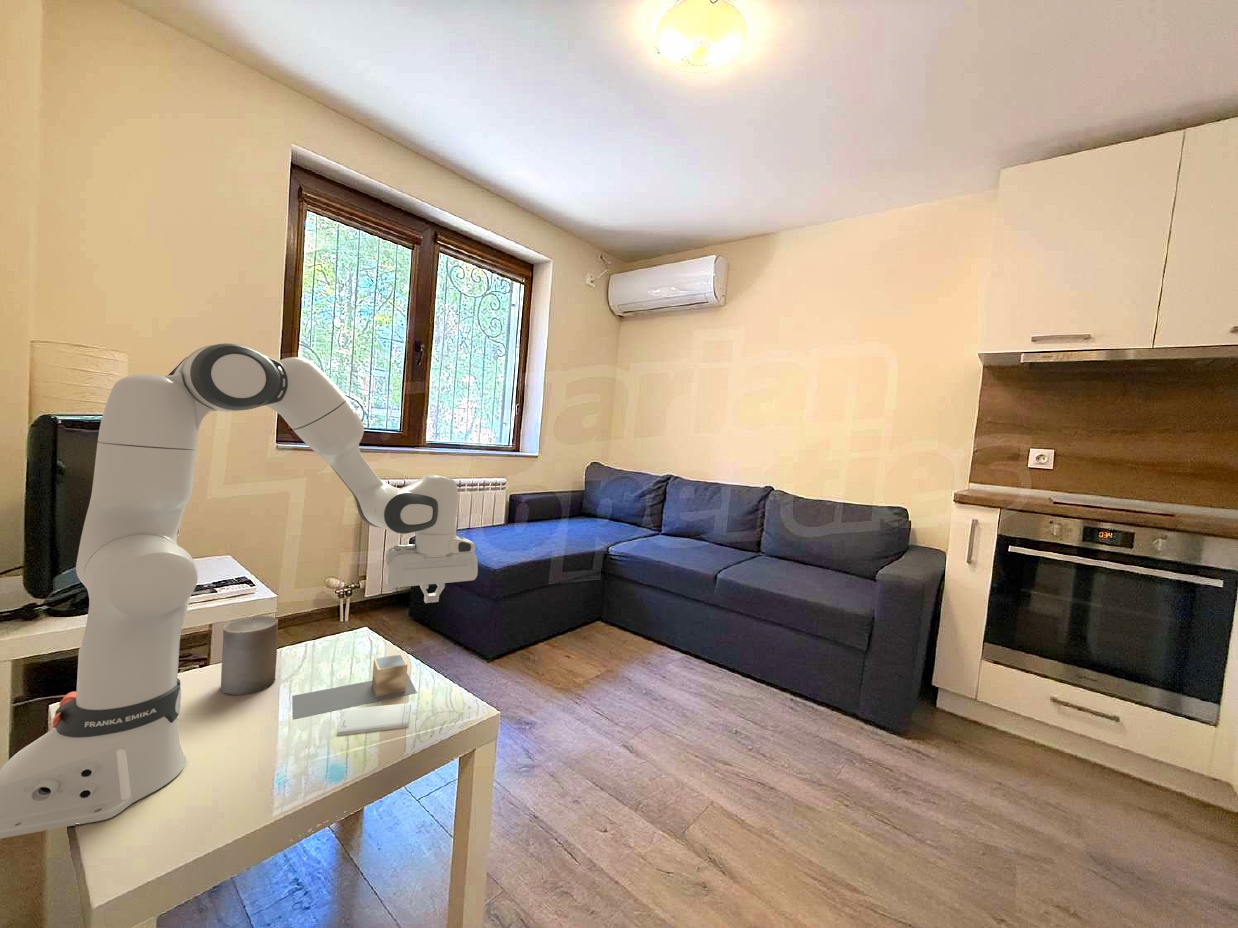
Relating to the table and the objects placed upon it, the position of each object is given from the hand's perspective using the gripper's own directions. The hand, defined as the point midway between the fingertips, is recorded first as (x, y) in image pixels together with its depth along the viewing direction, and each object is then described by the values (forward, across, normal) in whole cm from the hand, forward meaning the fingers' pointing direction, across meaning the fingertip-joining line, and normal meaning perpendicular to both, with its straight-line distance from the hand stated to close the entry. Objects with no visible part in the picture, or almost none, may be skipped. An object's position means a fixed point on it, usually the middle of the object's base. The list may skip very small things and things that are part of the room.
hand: (431, 601), depth 112 cm
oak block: (+19, -8, 0) cm, 20 cm away
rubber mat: (+19, -14, 0) cm, 24 cm away
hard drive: (+20, -12, -12) cm, 26 cm away
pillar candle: (+19, -34, +15) cm, 42 cm away
